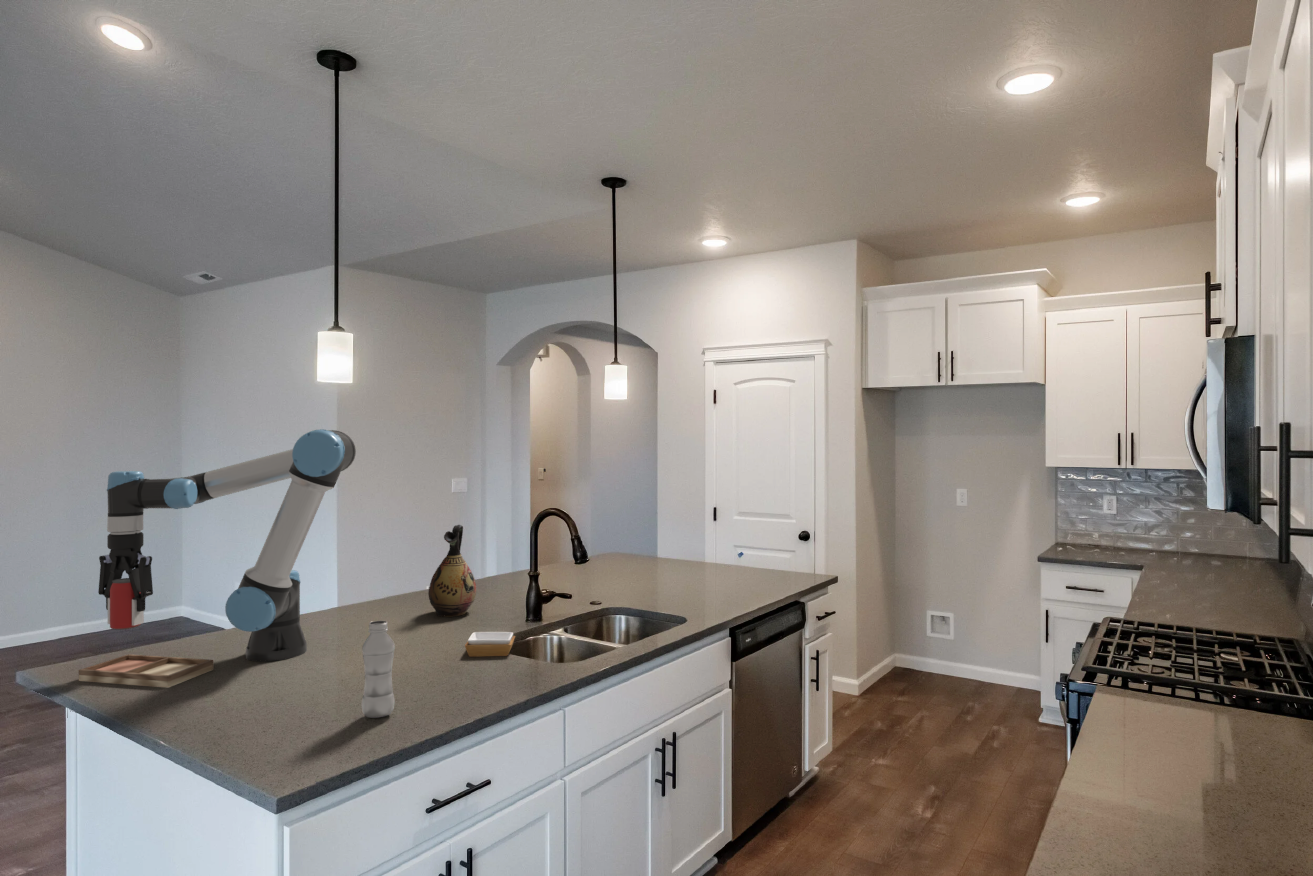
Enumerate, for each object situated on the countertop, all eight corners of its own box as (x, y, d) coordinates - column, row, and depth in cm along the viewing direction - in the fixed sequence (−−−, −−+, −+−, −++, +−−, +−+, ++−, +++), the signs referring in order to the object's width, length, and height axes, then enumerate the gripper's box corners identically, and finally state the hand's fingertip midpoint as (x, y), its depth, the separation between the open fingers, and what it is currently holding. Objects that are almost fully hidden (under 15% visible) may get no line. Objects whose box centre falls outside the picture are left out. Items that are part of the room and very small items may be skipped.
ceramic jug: (469, 621, 251) (469, 528, 251) (422, 621, 251) (422, 528, 251) (482, 609, 268) (482, 522, 268) (437, 609, 268) (437, 522, 268)
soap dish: (464, 659, 208) (464, 640, 208) (471, 649, 218) (470, 631, 218) (511, 658, 209) (511, 639, 209) (515, 648, 219) (515, 630, 219)
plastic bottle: (366, 711, 168) (366, 619, 168) (398, 710, 169) (398, 618, 169) (357, 722, 162) (357, 626, 162) (390, 721, 162) (390, 625, 162)
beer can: (125, 631, 192) (125, 582, 191) (103, 629, 193) (103, 581, 193) (147, 624, 198) (147, 577, 198) (126, 623, 199) (126, 576, 199)
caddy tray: (213, 670, 198) (213, 659, 198) (168, 687, 185) (168, 676, 185) (128, 664, 204) (128, 654, 204) (78, 681, 190) (78, 670, 190)
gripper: (170, 531, 197) (170, 622, 197) (106, 529, 201) (106, 618, 201) (145, 535, 190) (145, 629, 190) (79, 533, 194) (79, 625, 194)
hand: (125, 623), depth 195 cm, fingers closed on beer can, 7 cm apart
